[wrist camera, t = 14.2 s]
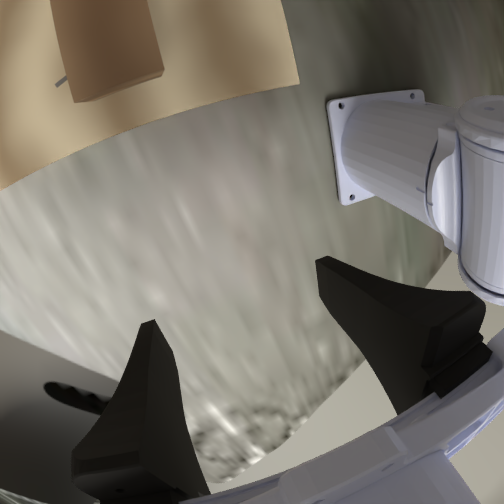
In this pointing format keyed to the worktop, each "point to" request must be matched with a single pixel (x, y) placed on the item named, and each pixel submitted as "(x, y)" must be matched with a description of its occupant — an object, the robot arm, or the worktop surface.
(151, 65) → the block
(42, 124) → the board
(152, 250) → the worktop surface
